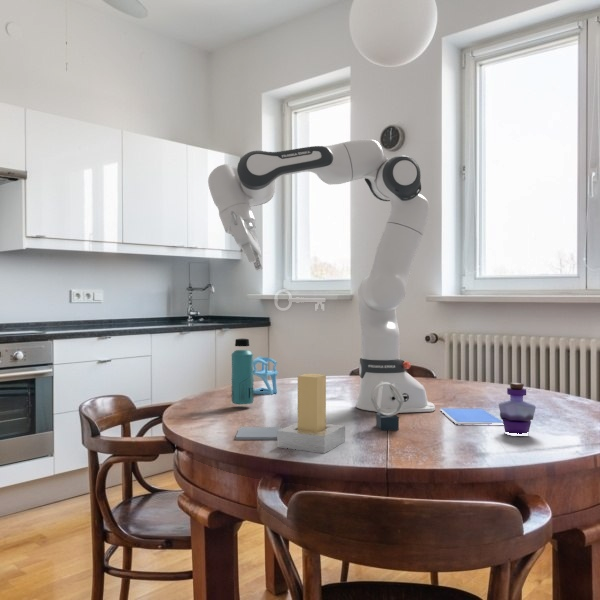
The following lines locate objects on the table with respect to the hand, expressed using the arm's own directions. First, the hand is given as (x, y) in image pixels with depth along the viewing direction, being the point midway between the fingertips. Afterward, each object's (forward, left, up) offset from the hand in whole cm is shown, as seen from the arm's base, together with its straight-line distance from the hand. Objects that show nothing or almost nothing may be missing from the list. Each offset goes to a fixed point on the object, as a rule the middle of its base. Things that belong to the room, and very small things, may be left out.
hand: (256, 266), depth 156 cm
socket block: (-14, +31, -40) cm, 53 cm away
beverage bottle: (+5, -11, -41) cm, 42 cm away
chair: (0, -37, -41) cm, 55 cm away
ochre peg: (-14, +31, -40) cm, 53 cm away
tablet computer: (-57, +3, -41) cm, 71 cm away
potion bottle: (-62, +22, -41) cm, 77 cm away
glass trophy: (-33, +15, -41) cm, 54 cm away
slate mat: (-2, +22, -40) cm, 46 cm away
